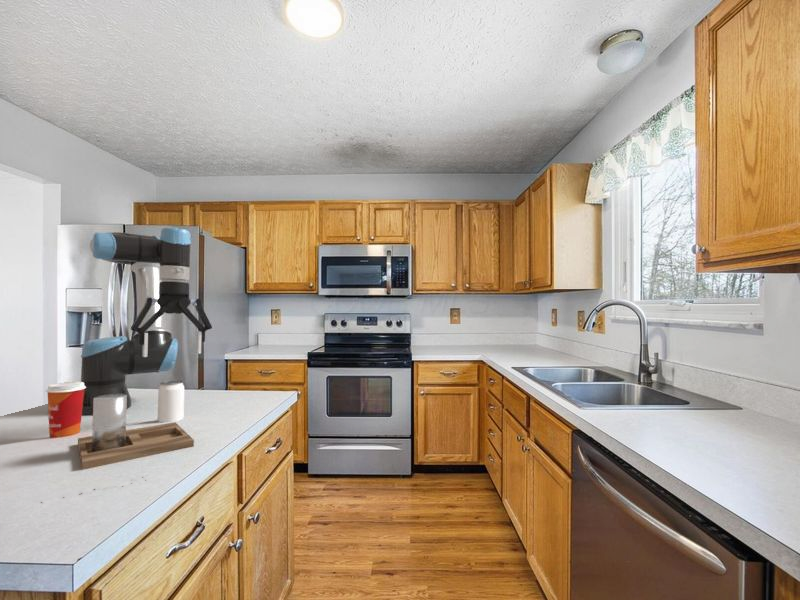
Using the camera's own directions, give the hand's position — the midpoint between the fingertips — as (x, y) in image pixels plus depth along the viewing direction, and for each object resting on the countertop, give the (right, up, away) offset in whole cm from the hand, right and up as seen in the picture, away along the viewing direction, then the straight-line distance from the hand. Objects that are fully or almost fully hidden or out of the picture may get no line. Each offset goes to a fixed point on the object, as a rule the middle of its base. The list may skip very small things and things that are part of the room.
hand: (172, 355), depth 111 cm
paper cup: (-19, -20, -14) cm, 31 cm away
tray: (+4, -20, -22) cm, 30 cm away
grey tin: (+1, -18, -25) cm, 31 cm away
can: (0, -20, 0) cm, 20 cm away
